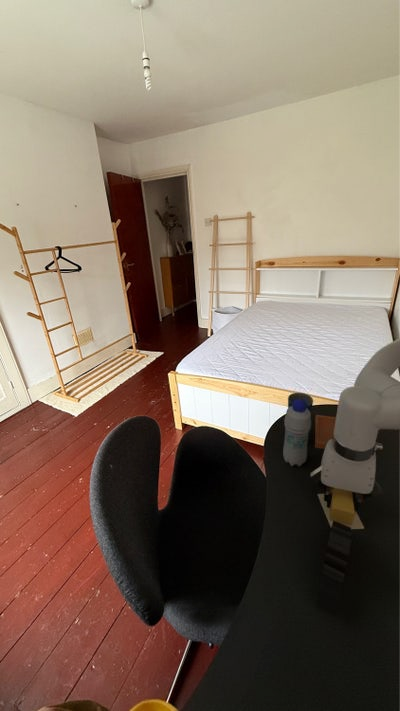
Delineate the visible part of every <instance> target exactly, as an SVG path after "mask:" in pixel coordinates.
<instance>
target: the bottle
mask: <svg viewBox="0 0 400 711" xmlns="http://www.w3.org/2000/svg"><path fill="white" fill-rule="evenodd" d="M311 414H312V412H311V413H310V411H309V410H308V409H307V408H306V403H305V401H303V400H295V401H294V402H293V405H292V406H291V407H289V408H288V407H287V409H286V412H285V417H284V420H283V421H284V428H285V429H284V430H285V431H284V442H283V449H282V455H283V459H284V462H285V463H287V464H288V463H289V465H290V466H291V467H294V466H295V465H296V466H297V467H301V466H303V464H305V463H306V461H307V457H308V441H309V433H310V430H311V427H312V416H311Z"/></svg>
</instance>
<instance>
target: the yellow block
mask: <svg viewBox="0 0 400 711" xmlns="http://www.w3.org/2000/svg"><path fill="white" fill-rule="evenodd" d="M354 515H355V511H354V503H353V495H352V491H348V490H343V489H338V488H333V490H332V500H331V506H330V520H331V521H333V520H334V521H336V522H339V523H343V524H347V525H351V526H352V523H353V519H354Z"/></svg>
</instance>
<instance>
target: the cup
mask: <svg viewBox="0 0 400 711" xmlns="http://www.w3.org/2000/svg"><path fill="white" fill-rule="evenodd" d="M295 400H303V401H305V403H306V408H307V409H308V410H309V411H310V413H311V414H312V409H313V404H314V399H313V397H312V396H311V395H309V394H307V393H303V392H293V393H290V394H289V395H288V396H287V409H288V408H289V407H291V406H292V405H293V402H294V401H295Z"/></svg>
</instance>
